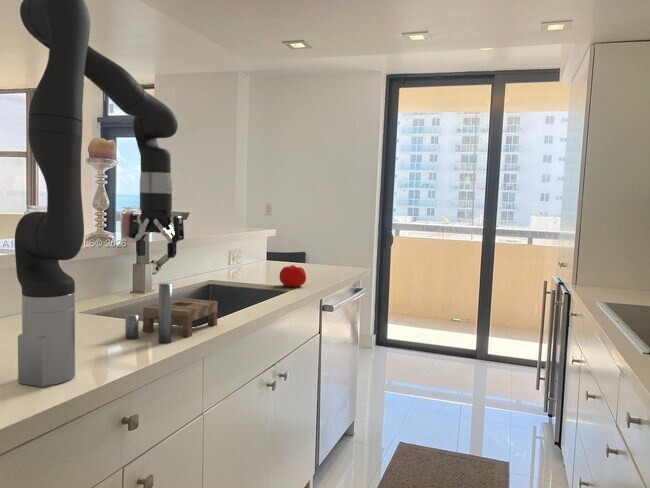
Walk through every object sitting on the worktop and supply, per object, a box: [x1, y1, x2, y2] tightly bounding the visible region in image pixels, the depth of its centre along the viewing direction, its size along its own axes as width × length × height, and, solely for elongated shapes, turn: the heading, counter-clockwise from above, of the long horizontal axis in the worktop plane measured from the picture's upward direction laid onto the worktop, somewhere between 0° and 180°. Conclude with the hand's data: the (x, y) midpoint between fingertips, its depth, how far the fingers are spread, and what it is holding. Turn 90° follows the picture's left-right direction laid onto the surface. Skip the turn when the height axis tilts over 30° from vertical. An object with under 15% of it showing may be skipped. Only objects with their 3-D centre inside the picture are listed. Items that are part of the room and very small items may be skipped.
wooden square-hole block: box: [142, 297, 219, 338], centre depth 146 cm, size 16×14×7 cm
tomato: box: [278, 264, 307, 288], centre depth 227 cm, size 11×12×9 cm
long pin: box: [157, 282, 173, 345], centre depth 131 cm, size 3×3×15 cm
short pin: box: [124, 313, 140, 340], centre depth 134 cm, size 3×3×6 cm
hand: (156, 256), depth 127 cm, fingers open, 8 cm apart
